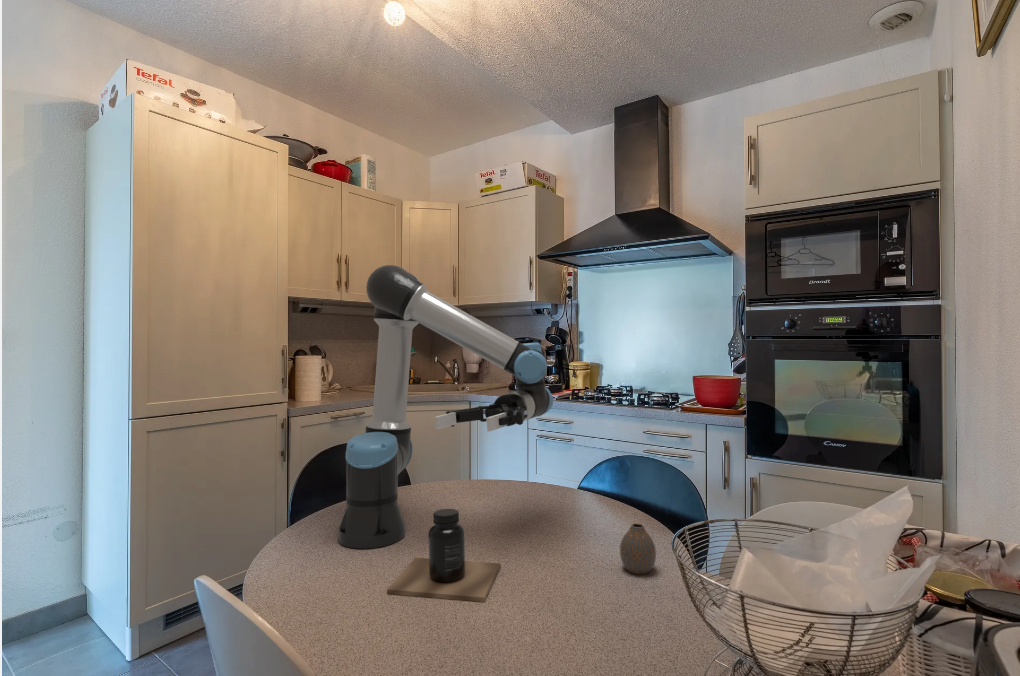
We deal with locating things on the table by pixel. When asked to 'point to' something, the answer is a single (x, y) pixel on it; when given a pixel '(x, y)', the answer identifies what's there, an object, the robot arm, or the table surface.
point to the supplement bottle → (446, 547)
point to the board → (466, 588)
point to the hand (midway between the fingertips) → (461, 424)
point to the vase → (637, 550)
